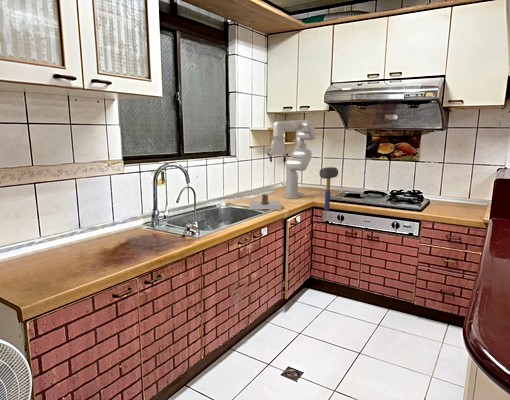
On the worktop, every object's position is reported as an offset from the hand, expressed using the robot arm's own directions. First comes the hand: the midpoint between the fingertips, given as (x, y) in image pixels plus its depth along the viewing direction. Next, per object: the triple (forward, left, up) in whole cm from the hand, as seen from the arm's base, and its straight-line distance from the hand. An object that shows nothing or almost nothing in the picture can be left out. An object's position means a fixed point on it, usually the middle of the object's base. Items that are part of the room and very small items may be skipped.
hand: (277, 162), depth 267 cm
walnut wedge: (+10, +18, -30) cm, 37 cm away
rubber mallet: (-32, +28, -30) cm, 52 cm away
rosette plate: (+10, +18, -30) cm, 37 cm away
